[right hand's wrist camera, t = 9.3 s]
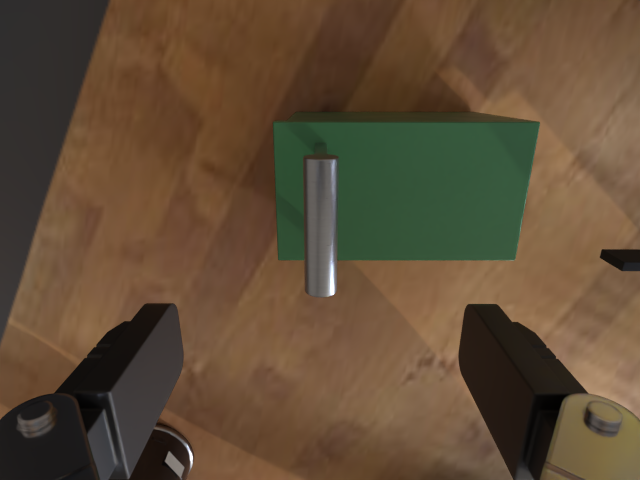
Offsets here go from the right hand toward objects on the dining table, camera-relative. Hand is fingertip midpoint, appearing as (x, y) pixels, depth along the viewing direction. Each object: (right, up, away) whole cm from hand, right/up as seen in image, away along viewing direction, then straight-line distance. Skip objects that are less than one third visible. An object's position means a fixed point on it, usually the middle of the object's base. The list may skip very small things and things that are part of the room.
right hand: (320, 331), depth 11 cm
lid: (+5, +6, +16) cm, 18 cm away
